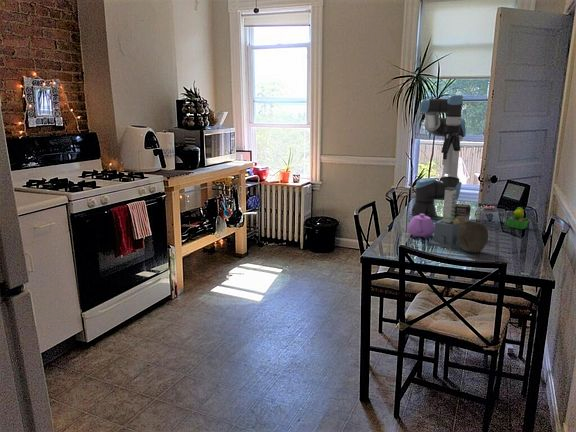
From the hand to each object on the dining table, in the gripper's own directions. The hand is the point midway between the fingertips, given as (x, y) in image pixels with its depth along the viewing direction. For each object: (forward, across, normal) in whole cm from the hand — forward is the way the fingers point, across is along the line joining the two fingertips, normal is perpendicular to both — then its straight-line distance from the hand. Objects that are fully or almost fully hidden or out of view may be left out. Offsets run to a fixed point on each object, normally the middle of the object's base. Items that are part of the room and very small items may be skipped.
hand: (449, 163), depth 254 cm
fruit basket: (+37, +28, -31) cm, 56 cm away
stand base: (+37, -27, -12) cm, 47 cm away
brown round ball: (+37, -33, -27) cm, 56 cm away
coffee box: (+37, -7, -11) cm, 39 cm away
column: (+29, -27, -12) cm, 42 cm away
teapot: (+37, -24, +3) cm, 44 cm away
